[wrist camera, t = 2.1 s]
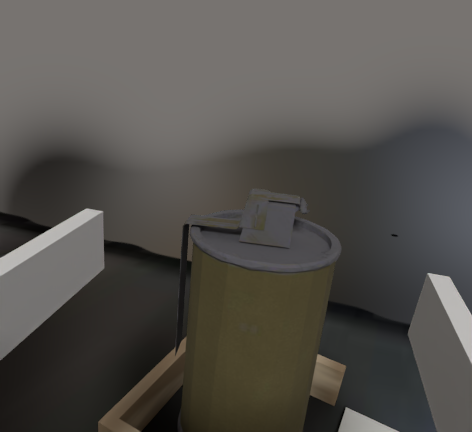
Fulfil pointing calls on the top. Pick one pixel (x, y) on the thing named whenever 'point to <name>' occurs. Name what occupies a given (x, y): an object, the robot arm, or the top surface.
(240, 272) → the canister
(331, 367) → the tan low open frame
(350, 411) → the mat
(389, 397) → the top surface
